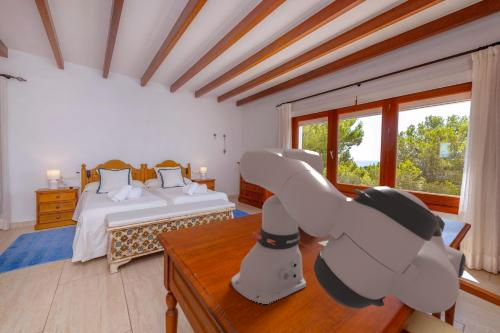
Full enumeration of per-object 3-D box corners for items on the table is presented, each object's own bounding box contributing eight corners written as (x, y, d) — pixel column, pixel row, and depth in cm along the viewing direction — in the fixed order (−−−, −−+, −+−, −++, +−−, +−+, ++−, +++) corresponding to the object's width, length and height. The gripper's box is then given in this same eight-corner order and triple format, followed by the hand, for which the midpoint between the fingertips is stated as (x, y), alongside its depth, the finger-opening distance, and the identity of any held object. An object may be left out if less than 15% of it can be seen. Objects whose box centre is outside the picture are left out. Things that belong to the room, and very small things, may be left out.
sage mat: (354, 249, 84) (354, 247, 84) (337, 254, 79) (337, 252, 79) (334, 240, 93) (334, 238, 92) (317, 244, 88) (317, 242, 88)
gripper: (382, 259, 68) (346, 243, 80) (416, 248, 77) (378, 235, 89) (383, 240, 68) (346, 227, 80) (417, 231, 77) (379, 220, 89)
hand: (364, 231), depth 85 cm, fingers open, 6 cm apart
